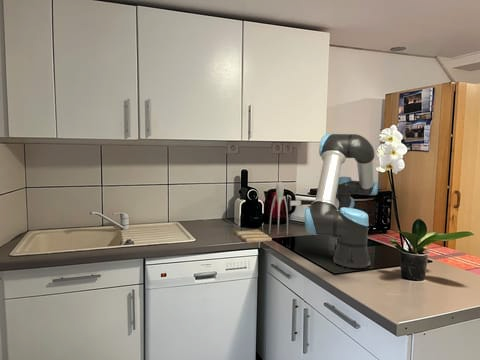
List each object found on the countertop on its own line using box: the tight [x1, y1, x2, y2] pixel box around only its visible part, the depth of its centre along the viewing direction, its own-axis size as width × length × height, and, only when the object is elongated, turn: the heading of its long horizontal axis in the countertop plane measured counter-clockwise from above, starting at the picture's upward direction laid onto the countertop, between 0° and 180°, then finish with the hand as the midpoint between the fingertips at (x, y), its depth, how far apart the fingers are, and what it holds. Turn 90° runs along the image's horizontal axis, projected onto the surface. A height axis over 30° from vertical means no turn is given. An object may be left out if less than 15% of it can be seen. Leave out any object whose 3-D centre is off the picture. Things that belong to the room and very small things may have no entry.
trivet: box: [234, 229, 273, 244], centre depth 188 cm, size 18×14×2 cm
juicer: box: [268, 181, 289, 236], centre depth 192 cm, size 10×9×30 cm
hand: (296, 205), depth 195 cm, fingers open, 13 cm apart
